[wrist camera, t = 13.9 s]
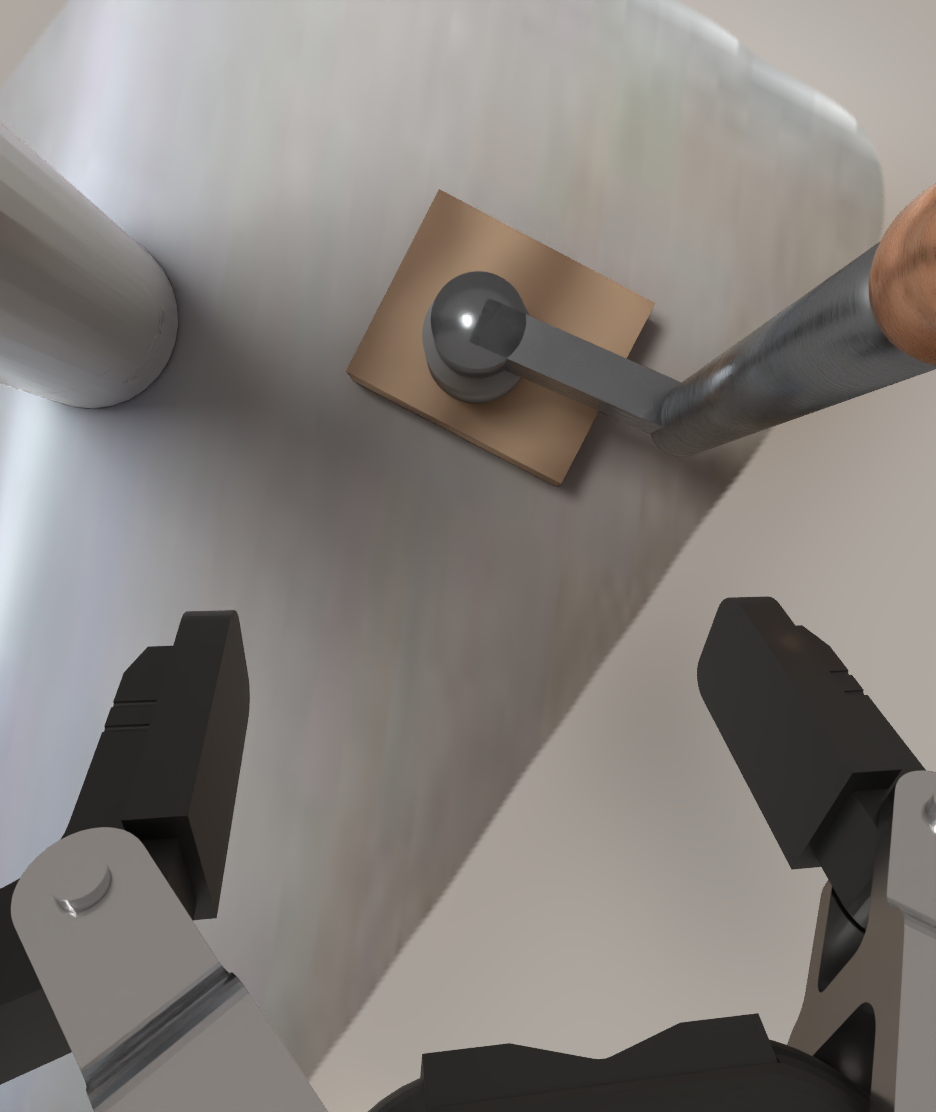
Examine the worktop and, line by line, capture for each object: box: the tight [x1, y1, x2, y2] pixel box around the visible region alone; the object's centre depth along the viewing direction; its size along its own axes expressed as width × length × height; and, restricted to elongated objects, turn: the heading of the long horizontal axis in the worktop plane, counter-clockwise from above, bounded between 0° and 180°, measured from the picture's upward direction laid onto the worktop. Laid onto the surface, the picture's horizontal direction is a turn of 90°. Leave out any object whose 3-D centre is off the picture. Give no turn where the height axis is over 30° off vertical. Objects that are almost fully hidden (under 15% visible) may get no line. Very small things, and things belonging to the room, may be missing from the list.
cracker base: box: [346, 189, 655, 486], centre depth 34 cm, size 12×10×5 cm
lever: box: [431, 184, 936, 457], centre depth 21 cm, size 14×4×20 cm, turn 66°
